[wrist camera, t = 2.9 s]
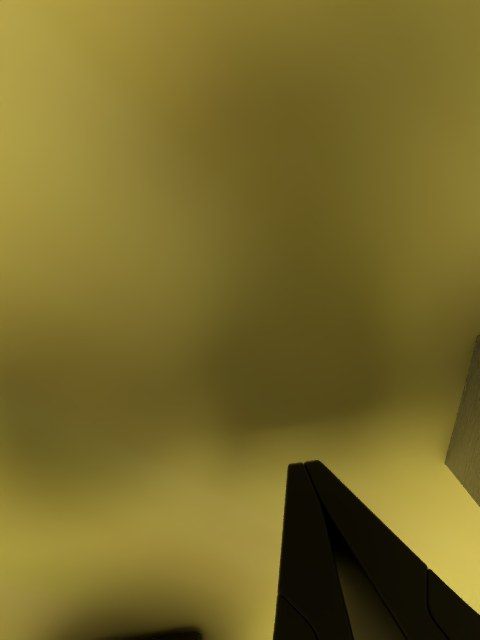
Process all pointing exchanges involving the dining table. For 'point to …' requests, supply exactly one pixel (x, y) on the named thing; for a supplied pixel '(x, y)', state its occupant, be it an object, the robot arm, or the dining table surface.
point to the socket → (468, 432)
